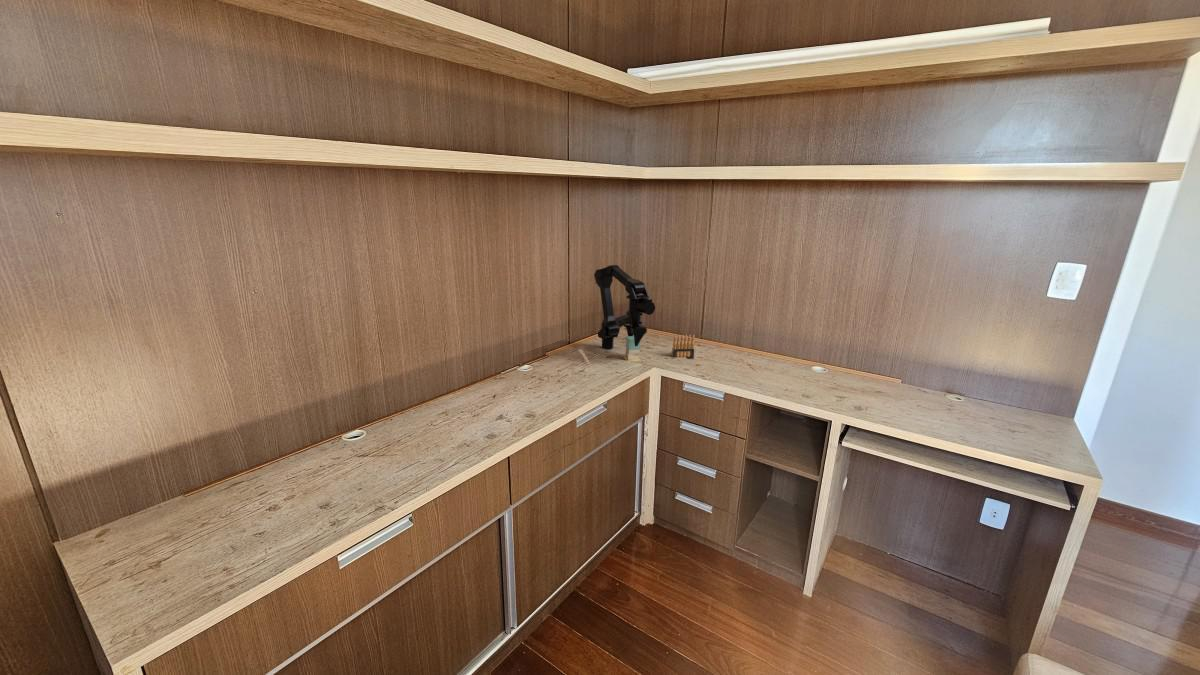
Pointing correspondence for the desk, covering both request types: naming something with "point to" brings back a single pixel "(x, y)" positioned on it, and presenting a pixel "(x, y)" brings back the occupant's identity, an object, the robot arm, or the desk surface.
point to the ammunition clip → (683, 347)
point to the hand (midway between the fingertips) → (632, 343)
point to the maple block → (632, 354)
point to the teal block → (631, 343)
